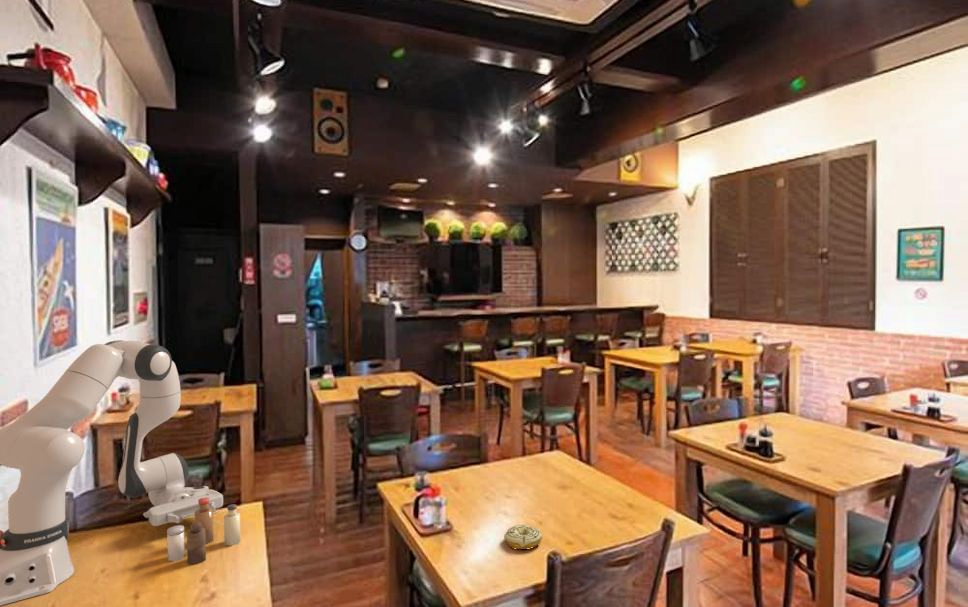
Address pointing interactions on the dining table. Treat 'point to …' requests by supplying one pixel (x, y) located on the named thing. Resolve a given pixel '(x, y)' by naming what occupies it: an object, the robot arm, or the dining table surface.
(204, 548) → the pepper mill
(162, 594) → the dining table surface
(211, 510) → the soy bottle
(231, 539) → the vinegar bottle
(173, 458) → the robot arm
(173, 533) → the salt shaker
